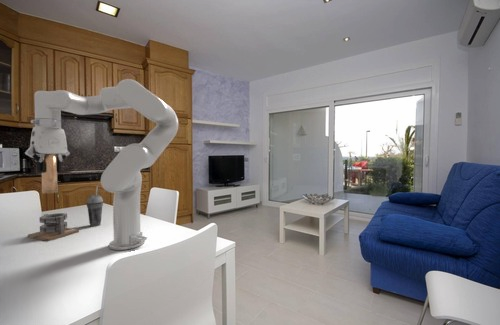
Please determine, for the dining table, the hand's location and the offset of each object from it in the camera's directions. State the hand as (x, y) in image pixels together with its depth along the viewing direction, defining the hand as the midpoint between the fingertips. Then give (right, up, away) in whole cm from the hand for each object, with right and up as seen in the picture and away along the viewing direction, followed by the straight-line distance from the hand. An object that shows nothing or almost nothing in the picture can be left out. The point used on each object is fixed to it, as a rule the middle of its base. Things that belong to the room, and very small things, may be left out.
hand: (49, 171), depth 88 cm
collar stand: (-10, -29, +14) cm, 34 cm away
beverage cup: (-1, -29, +28) cm, 40 cm away
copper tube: (0, -8, 0) cm, 8 cm away
